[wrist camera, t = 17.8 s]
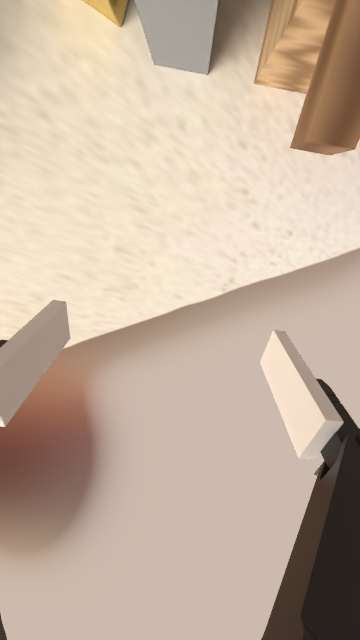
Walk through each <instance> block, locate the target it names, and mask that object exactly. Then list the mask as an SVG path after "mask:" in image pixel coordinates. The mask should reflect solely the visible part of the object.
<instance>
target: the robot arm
mask: <svg viewBox="0 0 360 640" xmlns="http://www.w3.org/2000/svg"><path fill="white" fill-rule="evenodd" d="M69 339H70V333H69V324H68V316H67V307H66V302H64V301H57V300H53V301H52V302H50V303H49V304H48V305H47V306H46V307H45V308H44V309H43V310H42V311H40V312H39V313H38V314H37V315H36V316H35V317H34V318H33V319H32V320H30V321H29V322H28V323H27V324H26V325H25V326H24V327H23V328H22V329H20V330H19V331H18V332H17V333H16V334H15V335H14V336H13V337H12V338H11V339H9V340H0V426H3V427H5V426H6V425H7V423H8V422H9V421H10V419H11V418H12V417H13V415H14V414H15V413H16V411H17V410H18V408H19V407H20V406H21V404H22V403H23V402H24V400H25V399H26V398H27V396H28V395H29V394H30V392H31V391H32V389H33V388H34V387H35V385H36V384H37V383H38V381H39V380H40V378H41V377H42V376H43V374H44V373H45V372H46V370H47V369H48V368H49V366H50V365H51V364H52V362H53V361H54V359H55V358H56V357H57V355H58V354H59V353H60V351H61V350H62V349H63V347H64V346H65V345H66V343H67V342H68V340H69ZM260 364H261V366H262V369H263V371H264V374H265V376H266V379H267V381H268V384H269V386H270V389H271V391H272V394H273V396H274V399H275V401H276V403H277V406H278V408H279V411H280V413H281V416H282V418H283V421H284V423H285V425H286V428H287V431H288V433H289V436H290V438H291V440H292V443H293V446H294V448H295V451H296V453H297V455H298V458H301V459H310V460H315V458H317V456H318V455H319V454H320V452H321V454H322V456H323V458H324V460H325V461H324V462H323V463H322V465H321V466H320V467H319V468H318V470H317V471H316V472H315V475H318V476H317V479H316V482H315V485H314V488H313V491H312V494H311V497H310V500H309V503H308V506H307V509H306V512H305V515H304V518H303V520H302V524H301V526H300V530H299V532H298V535H297V538H296V541H295V544H294V547H293V550H292V553H291V556H290V559H289V562H288V565H287V568H286V571H285V574H284V577H283V580H282V583H281V586H280V589H279V591H278V595H277V597H276V600H275V603H274V606H273V609H272V612H271V615H270V618H269V621H268V624H267V627H266V630H265V632H264V635H263V637H262V639H261V640H360V429H359V428H358V427H357V425H356V424H355V423H354V421H353V420H352V418H351V417H350V415H349V414H348V412H347V411H346V409H345V408H344V407H343V405H342V404H340V401H339V399H338V398H337V397H336V395H335V394H334V392H333V391H332V389H331V388H330V387H329V386H328V385H327V384H326V383H325V382H324V381H323V380H321V379H316V378H315V377H314V375H313V374H312V372H311V371H310V369H309V368H308V366H307V365H306V363H305V362H304V360H303V358H302V357H301V355H300V354H299V352H298V351H297V349H296V348H295V346H294V345H293V343H292V342H291V340H290V339H289V337H288V335H287V334H286V332H285V331H278V330H273V332H272V335H271V337H270V340H269V342H268V344H267V347H266V349H265V352H264V354H263V356H262V359H261V361H260ZM0 640H7V638H6V634H5V631H4V628H3V624H2V620H1V615H0Z"/></svg>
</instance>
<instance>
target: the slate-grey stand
mask: <svg viewBox="0 0 360 640" xmlns="http://www.w3.org/2000/svg"><path fill="white" fill-rule="evenodd" d="M135 3H136V6H137V10H138V13H139V16H140V20H141V23H142V26H143V29H144V33H145V36H146V39H147V43H148V46H149V49H150V53H151V56H152V59H153V62H154V65H159V66H164V67H169V68H175V69H180V70H185V71H190V72H195V73H201V74H206V75H208V69H209V63H210V56H211V50H212V43H213V36H214V30H215V23H216V17H217V10H218V3H219V0H135Z"/></svg>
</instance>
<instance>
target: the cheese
mask: <svg viewBox="0 0 360 640" xmlns="http://www.w3.org/2000/svg"><path fill="white" fill-rule="evenodd" d="M82 1H84V2H85V3H87V4H88V5H90V6H91V7H93V8H94V9H96V10H97V11H99V12H100V13H101V14H103V15H104V16H105V17H107V18H108V19H109V20H111V21H112V22H113V23H115V24H116V25H117V26H119V27H121V26H122V23H123V19H124V15H125V11H126V7H127V3H128V0H82Z"/></svg>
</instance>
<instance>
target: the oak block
mask: <svg viewBox="0 0 360 640" xmlns="http://www.w3.org/2000/svg"><path fill="white" fill-rule="evenodd" d="M335 1H336V0H272V4H271V9H270V13H269V18H268V22H267V27H266V31H265V36H264V40H263V45H262V49H261V54H260V58H259V63H258V67H257V71H256V76H255V80H254V84H258V85H263V86H268V87H274V88H279V89H284V90H289V91H294V92H300V93H305V94H306V93H307V92H308V88H309V85H310V82H311V79H312V75H313V72H314V69H315V66H316V62H317V59H318V56H319V53H320V50H321V46H322V43H323V40H324V37H325V33H326V30H327V27H328V24H329V20H330V17H331V14H332V11H333V7H334V4H335Z"/></svg>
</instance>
